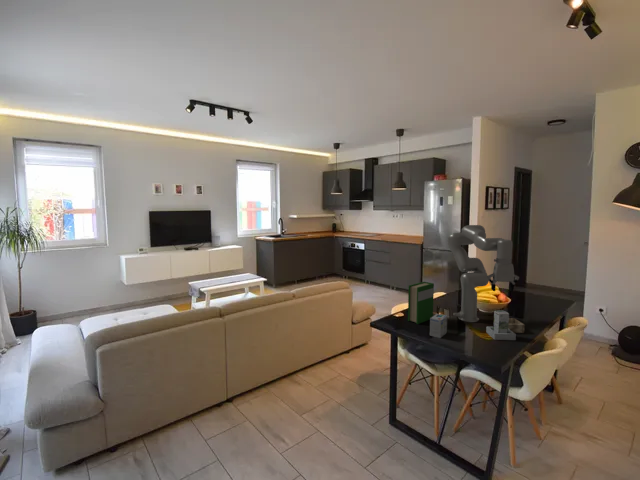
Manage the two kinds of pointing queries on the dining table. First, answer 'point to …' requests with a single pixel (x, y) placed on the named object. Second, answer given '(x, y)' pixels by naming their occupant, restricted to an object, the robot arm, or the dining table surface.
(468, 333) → the dining table surface
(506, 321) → the syrup box
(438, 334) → the light bulb box
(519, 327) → the brown square tray
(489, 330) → the seat block
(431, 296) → the hardback book
